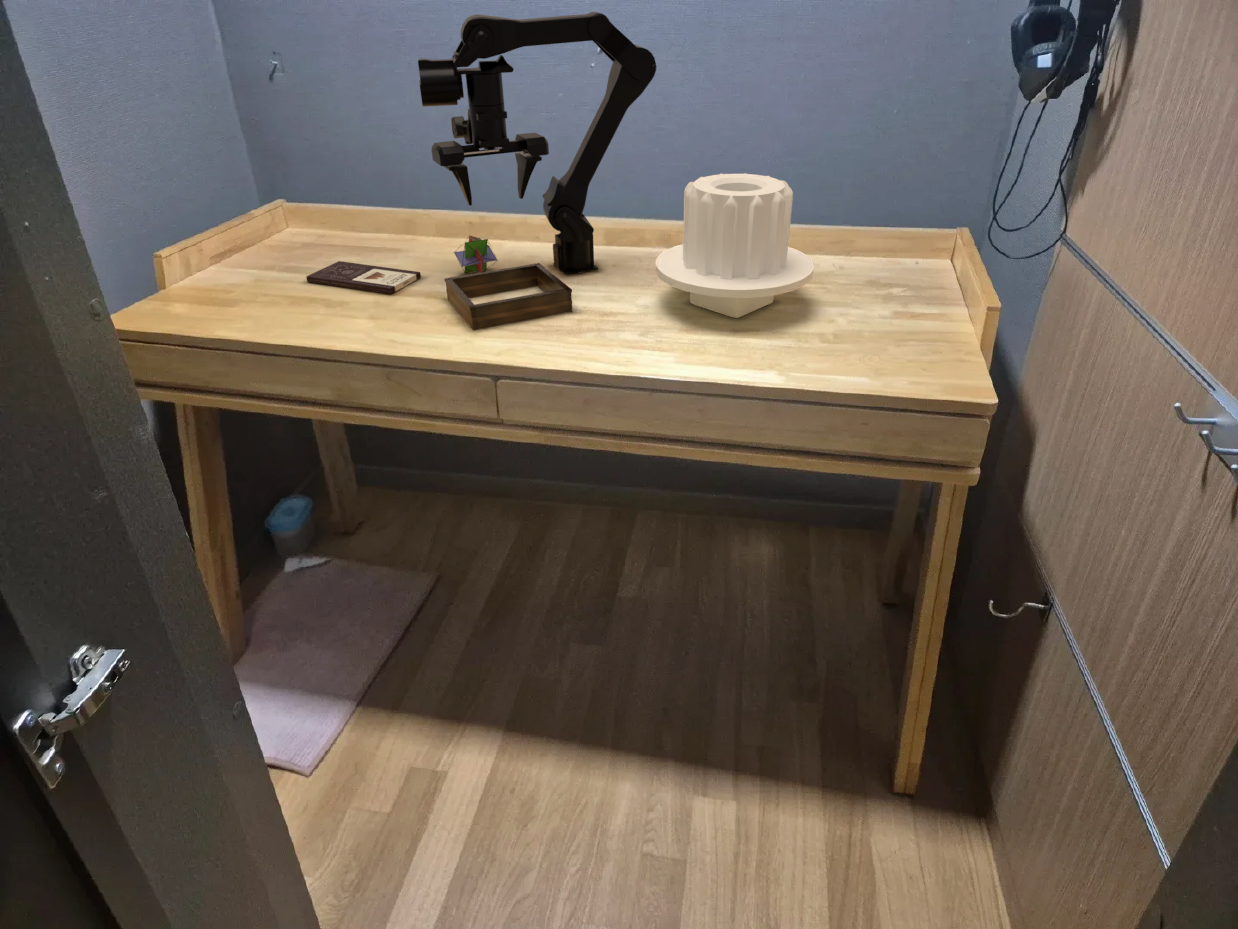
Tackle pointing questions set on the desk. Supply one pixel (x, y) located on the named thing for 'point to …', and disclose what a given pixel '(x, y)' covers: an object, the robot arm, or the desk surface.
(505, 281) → the square wooden frame
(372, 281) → the chocolate bar
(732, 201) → the ribbed cylinder on disc
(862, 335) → the desk surface
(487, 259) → the geometric puzzle
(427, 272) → the desk surface
